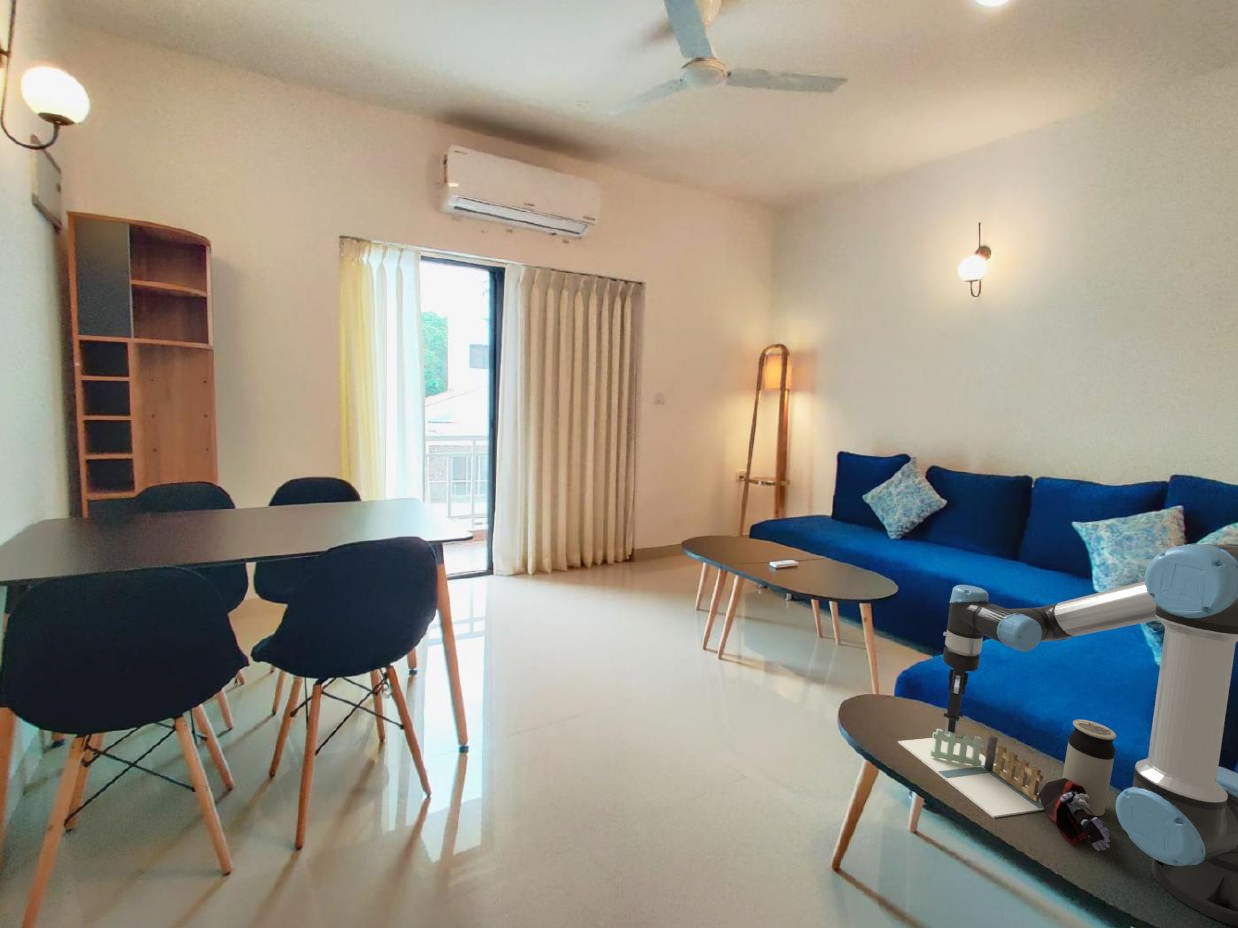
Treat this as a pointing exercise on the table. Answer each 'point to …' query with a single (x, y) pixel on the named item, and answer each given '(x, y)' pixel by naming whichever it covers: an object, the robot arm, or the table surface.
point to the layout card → (974, 780)
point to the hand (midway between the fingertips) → (949, 741)
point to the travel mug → (1091, 761)
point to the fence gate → (963, 742)
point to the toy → (1073, 813)
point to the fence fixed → (1012, 768)
